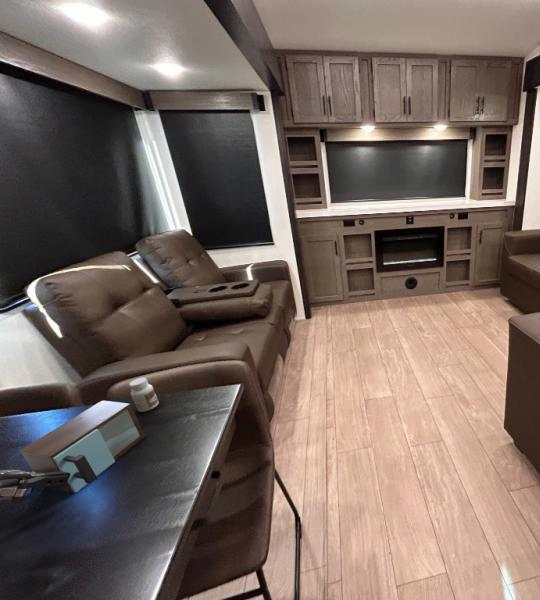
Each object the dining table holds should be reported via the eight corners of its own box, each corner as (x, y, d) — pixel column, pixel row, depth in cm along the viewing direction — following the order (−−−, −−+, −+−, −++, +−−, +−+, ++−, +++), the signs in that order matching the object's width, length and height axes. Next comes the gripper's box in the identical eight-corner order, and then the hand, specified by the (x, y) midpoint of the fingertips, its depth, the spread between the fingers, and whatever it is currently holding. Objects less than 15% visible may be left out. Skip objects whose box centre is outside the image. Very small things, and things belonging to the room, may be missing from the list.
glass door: (73, 492, 59) (52, 458, 56) (113, 461, 65) (96, 428, 62) (92, 496, 57) (71, 462, 54) (130, 464, 64) (114, 431, 61)
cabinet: (43, 486, 61) (19, 450, 57) (118, 431, 73) (102, 400, 70) (73, 493, 59) (50, 456, 56) (145, 436, 71) (130, 403, 68)
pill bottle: (156, 409, 80) (145, 383, 77) (135, 414, 79) (123, 388, 76) (161, 399, 84) (151, 374, 81) (141, 404, 82) (130, 379, 80)
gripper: (-46, 467, 38) (104, 460, 54) (-109, 452, 42) (49, 449, 57) (-90, 542, 36) (82, 511, 51) (-154, 520, 39) (26, 497, 54)
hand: (65, 479), depth 54 cm, fingers closed
